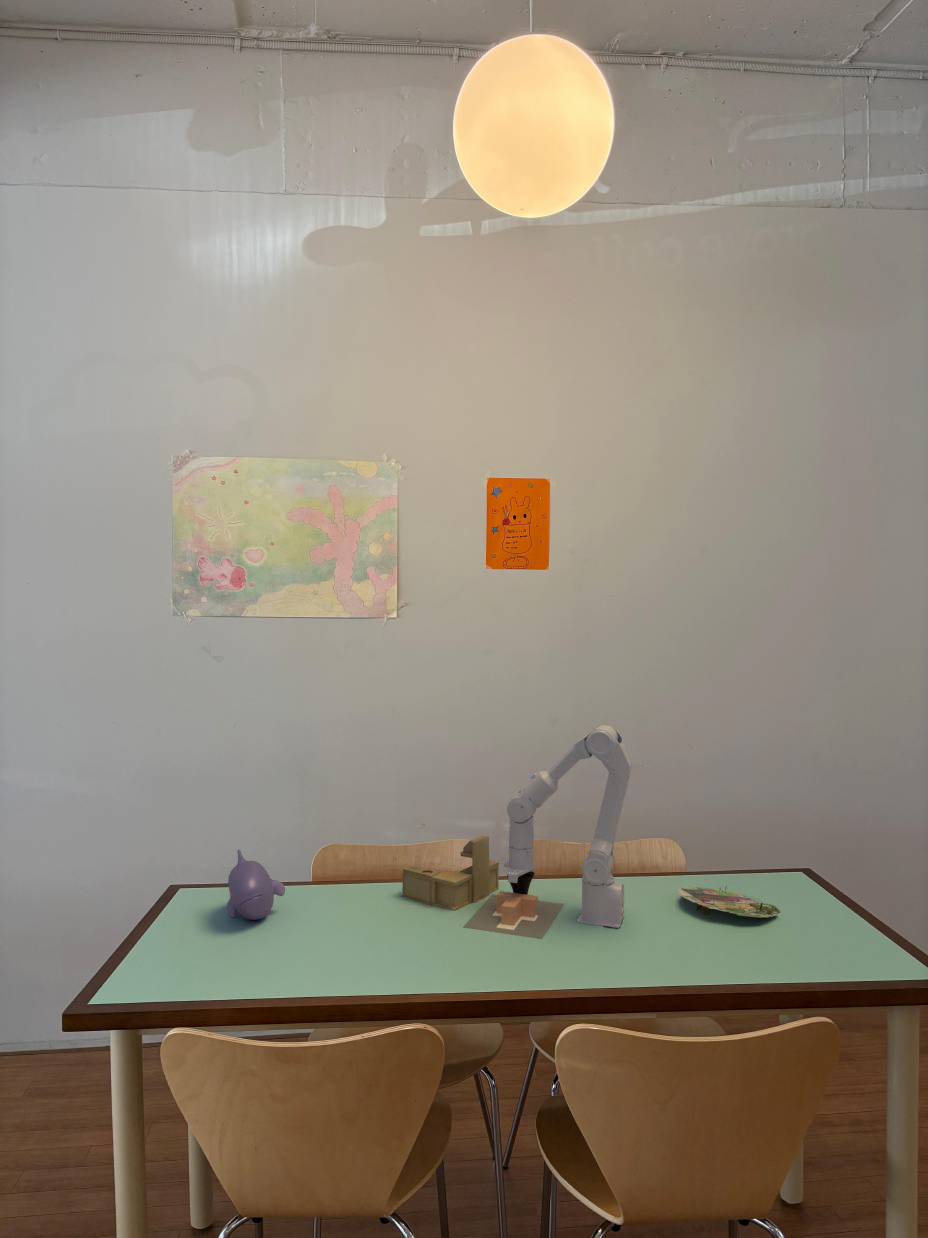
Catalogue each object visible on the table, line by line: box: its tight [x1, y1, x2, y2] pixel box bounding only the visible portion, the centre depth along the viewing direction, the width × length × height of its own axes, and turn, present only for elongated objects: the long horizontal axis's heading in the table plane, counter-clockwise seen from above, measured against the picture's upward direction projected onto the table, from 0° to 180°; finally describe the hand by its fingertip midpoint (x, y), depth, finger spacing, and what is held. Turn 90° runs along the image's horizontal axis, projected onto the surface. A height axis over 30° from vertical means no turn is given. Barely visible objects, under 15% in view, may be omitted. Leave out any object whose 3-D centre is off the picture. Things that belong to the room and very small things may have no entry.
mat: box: [462, 893, 565, 940], centre depth 190 cm, size 18×22×1 cm
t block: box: [496, 890, 539, 925], centre depth 189 cm, size 9×9×4 cm
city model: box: [677, 884, 781, 918], centre depth 197 cm, size 25×23×6 cm
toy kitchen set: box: [402, 835, 500, 912], centre depth 204 cm, size 18×17×15 cm
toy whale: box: [226, 849, 286, 921], centre depth 191 cm, size 14×25×16 cm, turn 12°
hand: (520, 904), depth 194 cm, fingers closed
